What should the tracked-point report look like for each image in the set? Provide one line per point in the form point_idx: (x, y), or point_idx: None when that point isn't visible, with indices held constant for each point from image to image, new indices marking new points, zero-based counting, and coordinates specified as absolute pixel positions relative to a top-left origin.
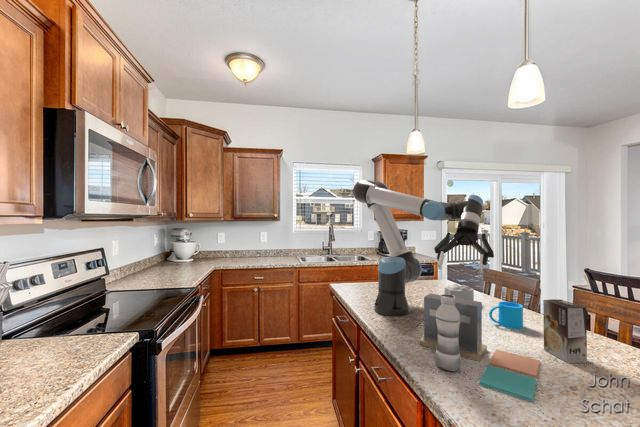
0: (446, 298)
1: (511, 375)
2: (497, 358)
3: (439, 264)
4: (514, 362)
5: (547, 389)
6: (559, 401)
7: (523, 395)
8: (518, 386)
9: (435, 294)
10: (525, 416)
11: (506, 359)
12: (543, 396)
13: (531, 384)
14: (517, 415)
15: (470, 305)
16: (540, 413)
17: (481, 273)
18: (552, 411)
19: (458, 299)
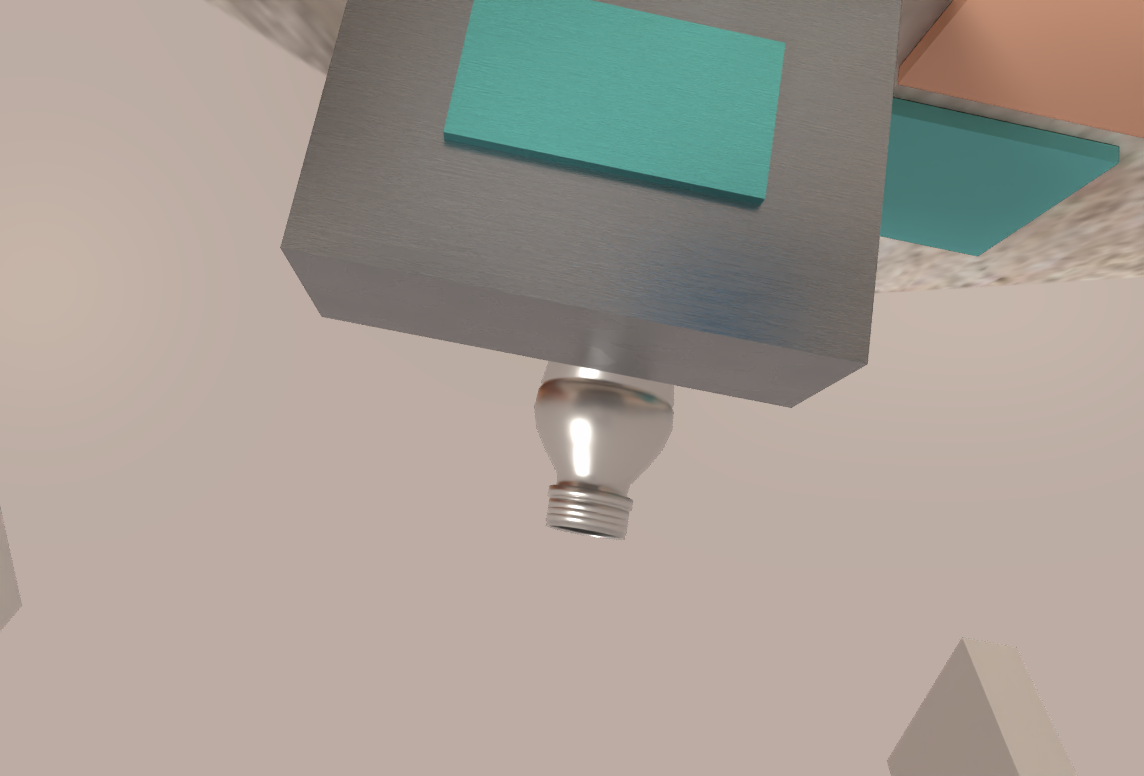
0: (583, 529)
1: (977, 163)
2: (989, 26)
3: (9, 615)
4: (1105, 46)
5: (1131, 180)
6: (1114, 227)
7: (949, 249)
8: (961, 217)
9: (350, 263)
10: (907, 281)
11: (1063, 22)
12: (1060, 216)
13: (1043, 200)
14: (881, 281)
15: (737, 394)
16: (971, 271)
17: (1002, 652)
18: (1027, 262)
19: (627, 336)
